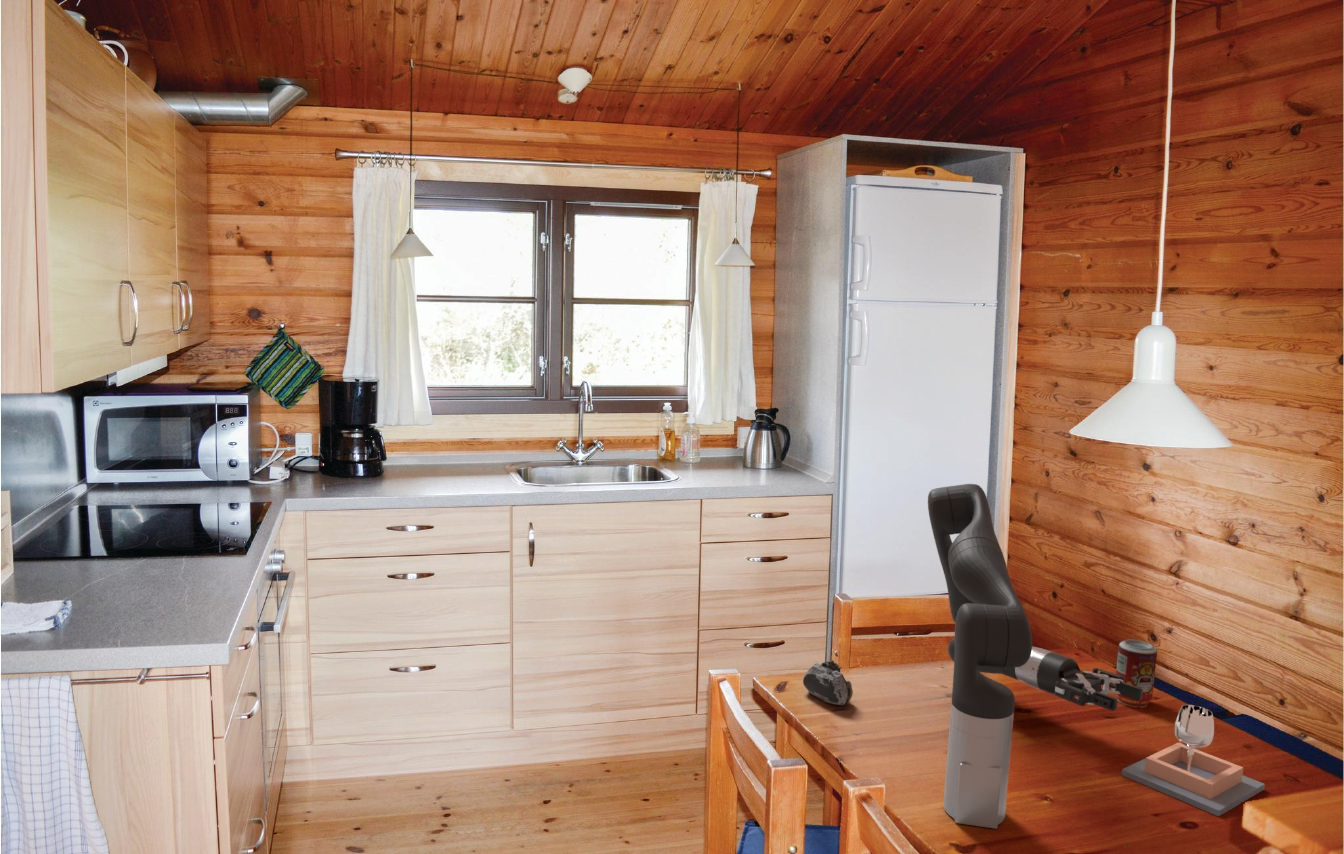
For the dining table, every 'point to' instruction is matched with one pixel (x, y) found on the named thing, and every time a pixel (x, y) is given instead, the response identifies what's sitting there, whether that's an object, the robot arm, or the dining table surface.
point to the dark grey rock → (828, 683)
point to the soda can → (1137, 669)
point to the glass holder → (1195, 779)
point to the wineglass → (1194, 728)
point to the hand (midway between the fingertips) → (1129, 699)
